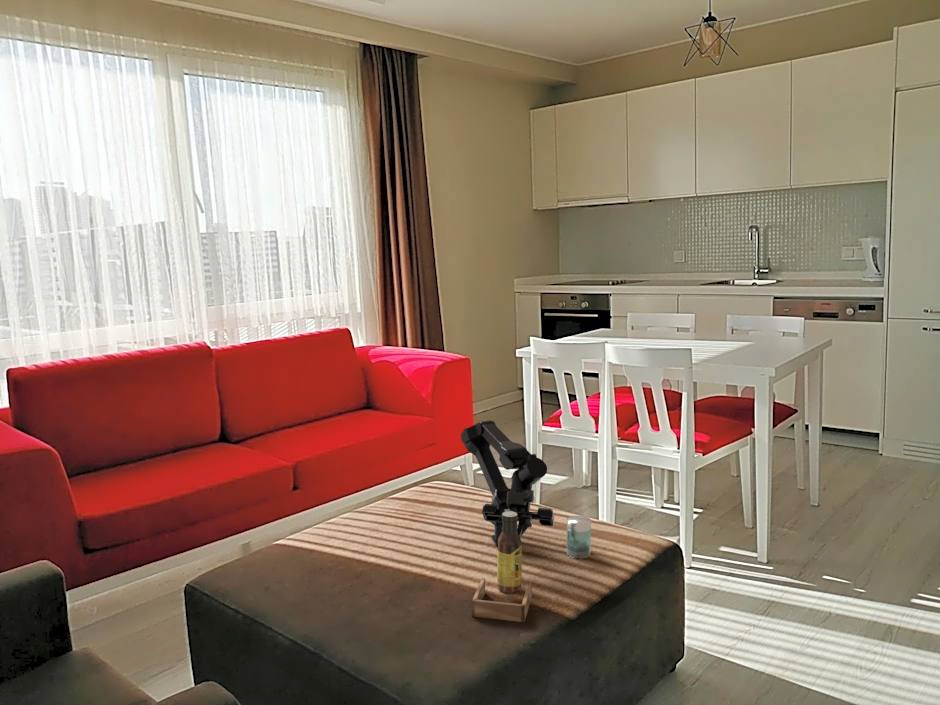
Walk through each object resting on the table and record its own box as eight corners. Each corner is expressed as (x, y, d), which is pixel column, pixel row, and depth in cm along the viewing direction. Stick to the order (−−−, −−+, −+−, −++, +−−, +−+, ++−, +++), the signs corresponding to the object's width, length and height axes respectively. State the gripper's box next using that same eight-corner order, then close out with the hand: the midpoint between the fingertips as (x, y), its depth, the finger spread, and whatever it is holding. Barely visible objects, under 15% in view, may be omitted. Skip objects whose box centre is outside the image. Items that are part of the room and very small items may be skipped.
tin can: (563, 550, 223) (563, 516, 221) (585, 547, 224) (586, 514, 223) (571, 560, 217) (571, 526, 215) (594, 558, 218) (594, 523, 216)
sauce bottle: (519, 595, 197) (520, 520, 194) (495, 593, 199) (495, 518, 195) (523, 583, 204) (523, 510, 200) (499, 581, 205) (499, 508, 201)
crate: (482, 592, 199) (482, 578, 198) (531, 598, 196) (531, 583, 195) (471, 616, 187) (471, 600, 187) (524, 622, 185) (524, 606, 184)
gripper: (483, 475, 210) (475, 530, 201) (553, 479, 206) (548, 536, 197) (489, 492, 219) (481, 546, 210) (556, 497, 215) (551, 552, 206)
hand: (514, 545), depth 206 cm, fingers closed
